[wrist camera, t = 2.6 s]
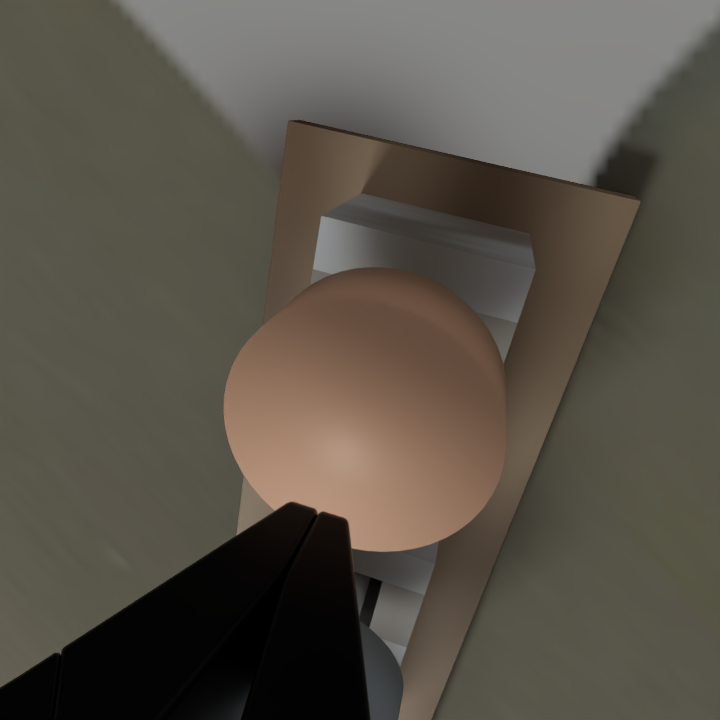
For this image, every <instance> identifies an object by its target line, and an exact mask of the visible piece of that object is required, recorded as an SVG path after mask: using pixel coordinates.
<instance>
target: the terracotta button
mask: <svg viewBox="0 0 720 720" xmlns="http://www.w3.org/2000/svg"><path fill="white" fill-rule="evenodd" d="M224 420H225V429H226V433H227V437H228V441H229V444H230V447H231V449H232V452H233V455H234V457H235V460H236V461H237V463H238V465H239V467H240V469H241V471H242V473H243V474H244V476H245V477H246V479H247V480H248V482H249V483H250V485H251V486H252V487H253V488H254V490H255V491H256V492H257V493H258V494H259V495H260V497H261V498H262V499H263V500H264V501H265V502H266V503H267V504H268V505H269V506H270V507H271V508H272V509H274V510H277V509H278V508H280V507H281V506H283V505H284V504H286V503H288V502H297V503H300V504H303V505H306V506H309V507H312V508H315V509H316V510H317V512H318V514H319V513H320V512H322V511H325V512H328V513H331V514H334V515H338V516H341V517H344V518H346V519H347V520H348V523H349V529H350V538H351V547H352V548H353V549H359V550H365V551H378V552H389V551H403V550H409V549H415V548H419V547H423V546H426V545H430V544H433V543H435V542H437V541H440V540H442V539H444V538H447V537H448V536H450V535H452V534H453V533H455V532H457V531H458V530H460V529H461V528H463V527H464V526H465V525H466V524H468V523H469V522H470V521H471V520H473V519H474V517H475V516H476V515H477V514H478V513H479V512H480V511H481V510H482V509H483V508H484V506H485V505H486V503H487V502H488V500H489V499H490V498H491V496H492V495H493V492H494V490H495V488H496V486H497V484H498V482H499V480H500V476H501V473H502V469H503V466H504V459H505V451H506V376H505V370H504V365H503V361H502V358H501V355H500V352H499V349H498V346H497V344H496V342H495V340H494V338H493V336H492V334H491V332H490V331H489V329H488V328H487V326H486V325H485V324H484V322H483V321H482V319H481V318H480V317H479V316H478V315H477V313H476V312H475V311H474V310H473V309H472V308H471V307H470V306H469V305H468V304H467V303H466V302H465V301H463V300H462V299H461V298H460V297H459V296H457V295H456V294H455V293H453V292H452V291H450V290H449V289H447V288H446V287H444V286H442V285H441V284H439V283H437V282H435V281H433V280H430V279H428V278H426V277H424V276H421V275H418V274H415V273H412V272H409V271H404V270H399V269H394V268H383V267H366V268H355V269H350V270H346V271H341V272H338V273H335V274H332V275H330V276H327V277H325V278H323V279H321V280H319V281H317V282H315V283H313V284H312V285H310V286H309V287H307V288H306V289H305V290H303V291H302V292H301V293H299V294H298V295H297V296H296V297H295V298H294V299H293V300H291V301H290V302H289V303H288V304H287V305H286V306H285V307H284V308H282V309H281V310H280V311H279V312H278V313H277V314H276V315H274V316H273V317H272V318H271V319H270V320H269V321H268V322H267V323H265V324H264V325H263V326H262V327H261V328H260V329H259V330H258V331H257V332H256V333H255V334H254V335H253V336H252V337H251V338H250V339H249V340H248V341H247V343H246V344H245V345H244V347H243V348H242V349H241V351H240V352H239V354H238V356H237V358H236V360H235V362H234V363H233V365H232V368H231V371H230V374H229V377H228V380H227V383H226V389H225V395H224Z"/></svg>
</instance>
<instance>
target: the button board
mask: <svg viewBox="0 0 720 720" xmlns="http://www.w3.org/2000/svg"><path fill="white" fill-rule="evenodd" d="M640 203H641V201H640V200H639V199H637V198H636V197H634V196H631V195H627V194H622V193H618V192H614V191H609V190H605V189H600V188H596V187H592V186H587V185H583V184H578V183H574V182H570V181H565V180H561V179H556V178H552V177H548V176H543V175H539V174H534V173H530V172H526V171H521V170H517V169H512V168H508V167H504V166H499V165H495V164H490V163H486V162H482V161H477V160H473V159H469V158H464V157H460V156H455V155H451V154H447V153H442V152H438V151H433V150H429V149H425V148H420V147H416V146H412V145H407V144H402V143H398V142H394V141H390V140H385V139H381V138H376V137H372V136H368V135H363V134H358V133H354V132H350V131H346V130H341V129H336V128H333V127H328V126H323V125H319V124H315V123H311V122H306V121H302V120H292V121H291V120H290V121H288V126H287V135H286V143H285V151H284V159H283V167H282V175H281V183H280V191H279V199H278V207H277V215H276V223H275V231H274V239H273V247H272V255H271V263H270V271H269V279H268V287H267V295H266V303H265V311H264V319H263V325H264V324H265V323H267V322H268V321H269V320H270V319H271V318H272V317H273V316H274V315H276V314H277V313H278V312H279V311H280V310H281V309H282V308H284V307H285V306H286V305H287V304H288V303H289V302H290V301H291V300H293V299H294V298H295V297H296V296H297V295H298V294H299V293H301V292H302V291H303V290H305V289H306V288H307V287H309V286H310V285H312V284H313V283H315V282H317V281H319V280H321V279H323V278H325V277H327V276H330V275H332V274H335V273H338V272H341V271H346V270H350V269H355V268H366V267H383V268H394V269H399V270H404V271H409V272H412V273H415V274H418V275H421V276H424V277H426V278H428V279H430V280H433V281H435V282H437V283H439V284H441V285H442V286H444V287H446V288H447V289H449V290H450V291H452V292H453V293H455V294H456V295H457V296H459V297H460V298H461V299H462V300H463V301H465V302H466V303H467V304H468V305H469V306H470V307H471V308H472V309H473V310H474V311H475V312H476V313H477V315H478V316H479V317H480V318H481V319H482V321H483V322H484V324H485V325H486V326H487V328H488V329H489V331H490V332H491V334H492V336H493V338H494V340H495V342H496V344H497V346H498V349H499V352H500V355H501V358H502V361H503V365H504V370H505V376H506V451H505V459H504V466H503V469H502V473H501V476H500V480H499V482H498V484H497V486H496V488H495V490H494V492H493V495H492V496H491V498H490V499H489V500H488V502H487V503H486V505H485V506H484V508H483V509H482V510H481V511H480V512H479V513H478V514H477V515H476V516H475V517H474V519H473V520H471V521H470V522H469V523H468V524H466V525H465V526H464V527H463V528H461V529H460V530H458V531H457V532H455V533H453V534H452V535H450V536H448V537H447V538H444V539H442V540H440V541H437V542H435V543H433V544H430V545H426V546H423V547H419V548H415V549H409V550H403V551H389V552H378V551H365V550H359V549H353V548H352V556H353V565H354V572H357V573H360V574H363V575H366V576H369V577H371V578H370V582H369V585H368V588H367V592H366V595H365V599H364V602H363V605H362V609H361V612H360V616H359V619H360V622H362V623H363V624H365V625H366V626H367V627H369V628H370V629H371V630H372V631H374V632H375V633H376V634H377V635H378V636H379V637H380V638H381V639H382V640H383V641H384V643H385V644H386V645H387V646H388V647H389V649H390V650H391V652H392V653H393V655H394V656H395V658H396V660H397V662H398V664H399V666H400V669H401V672H402V676H403V683H404V685H403V696H402V702H401V707H400V713H399V718H398V720H431V719H432V717H433V714H434V712H435V709H436V707H437V704H438V702H439V699H440V697H441V694H442V692H443V689H444V687H445V685H446V682H447V680H448V677H449V675H450V672H451V670H452V667H453V665H454V662H455V660H456V657H457V655H458V652H459V650H460V647H461V645H462V642H463V640H464V638H465V635H466V633H467V630H468V628H469V625H470V623H471V620H472V618H473V615H474V613H475V610H476V608H477V605H478V603H479V600H480V598H481V596H482V593H483V591H484V588H485V586H486V583H487V581H488V578H489V576H490V573H491V571H492V568H493V566H494V563H495V561H496V558H497V556H498V554H499V551H500V549H501V546H502V544H503V541H504V539H505V536H506V534H507V531H508V529H509V526H510V524H511V521H512V519H513V516H514V514H515V512H516V509H517V507H518V504H519V502H520V499H521V497H522V494H523V492H524V489H525V487H526V484H527V482H528V479H529V477H530V474H531V472H532V470H533V467H534V465H535V462H536V460H537V457H538V455H539V452H540V450H541V447H542V445H543V442H544V440H545V437H546V435H547V432H548V430H549V428H550V425H551V423H552V420H553V418H554V415H555V413H556V410H557V408H558V405H559V403H560V400H561V398H562V395H563V393H564V390H565V388H566V385H567V383H568V381H569V378H570V376H571V373H572V371H573V368H574V366H575V363H576V361H577V358H578V356H579V353H580V351H581V348H582V346H583V343H584V341H585V339H586V336H587V334H588V331H589V329H590V326H591V324H592V321H593V319H594V316H595V314H596V311H597V309H598V306H599V304H600V301H601V299H602V297H603V294H604V292H605V289H606V287H607V284H608V282H609V279H610V277H611V274H612V272H613V269H614V267H615V264H616V262H617V259H618V257H619V255H620V252H621V250H622V247H623V245H624V242H625V240H626V237H627V235H628V232H629V230H630V227H631V225H632V222H633V220H634V217H635V215H636V213H637V210H638V208H639V205H640ZM274 511H275V510H274V509H272V508H271V507H270V506H269V505H268V504H267V503H266V502H265V501H264V500H263V499H262V498H261V497H260V495H259V494H258V493H257V492H256V491H255V490H254V488H253V487H252V486H251V485H250V483H249V482H248V480H247V479H246V477H245V476H244V479H243V487H242V495H241V503H240V511H239V519H238V527H237V535H238V534H240V533H241V532H243V531H244V530H246V529H247V528H249V527H250V526H252V525H254V524H255V523H257V522H258V521H260V520H261V519H263V518H264V517H266V516H267V515H269V514H271V513H272V512H274ZM237 535H236V536H237Z"/></svg>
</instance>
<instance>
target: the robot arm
mask: <svg viewBox="0 0 720 720" xmlns="http://www.w3.org/2000/svg"><path fill="white" fill-rule="evenodd" d="M0 720H371V718H370V709H369V700H368V691H367V682H366V673H365V664H364V655H363V646H362V637H361V628H360V619H359V610H358V601H357V592H356V583H355V574H354V565H353V556H352V547H351V538H350V529H349V523H348V520H347V519H346V518H344V517H341V516H338V515H334V514H331V513H328V512H325V511H322V512H320V513H319V514H318V512H317V510H316V509H315V508H312V507H309V506H306V505H303V504H300V503H297V502H288V503H286V504H284V505H283V506H281V507H280V508H278V509H277V510H275V511H274V512H272V513H271V514H269V515H267V516H266V517H264V518H263V519H261V520H260V521H258V522H257V523H255V524H254V525H252V526H250V527H249V528H247V529H246V530H244V531H243V532H241V533H240V534H238V535H237V536H235V537H234V538H232V539H230V540H229V541H227V542H226V543H224V544H223V545H221V546H220V547H218V548H217V549H215V550H213V551H212V552H210V553H209V554H207V555H206V556H204V557H203V558H201V559H200V560H198V561H196V562H195V563H193V564H192V565H190V566H189V567H187V568H186V569H184V570H183V571H181V572H180V573H178V574H176V575H175V576H173V577H172V578H170V579H169V580H167V581H166V582H164V583H163V584H161V585H159V586H158V587H156V588H155V589H153V590H152V591H150V592H149V593H147V594H146V595H144V596H142V597H141V598H139V599H138V600H136V601H135V602H133V603H132V604H130V605H129V606H127V607H125V608H124V609H122V610H121V611H119V612H118V613H116V614H115V615H113V616H112V617H110V618H109V619H107V620H105V621H104V622H102V623H101V624H99V625H98V626H96V627H95V628H93V629H92V630H90V631H88V632H87V633H85V634H84V635H82V636H81V637H79V638H78V639H76V640H75V641H73V642H71V643H70V644H68V645H67V646H65V647H64V648H63V649H62V652H61V655H60V654H59V653H54V654H52V655H51V656H49V657H48V658H46V659H45V660H43V661H42V662H40V663H39V664H37V665H35V666H34V667H32V668H31V669H29V670H28V671H26V672H25V673H23V674H22V675H20V676H18V677H17V678H15V679H13V680H12V681H10V682H9V683H7V684H5V685H4V686H2V687H1V688H0Z"/></svg>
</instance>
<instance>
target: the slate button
mask: <svg viewBox="0 0 720 720" xmlns="http://www.w3.org/2000/svg"><path fill="white" fill-rule="evenodd" d="M354 574H355V583H356V592H357V601H358V610H359V616H360V612H361V609H362V605H363V602H364V599H365V595H366V592H367V588H368V585H369V582H370V578H371V577H369V576H366V575H363V574H360V573H357V572H354ZM360 628H361V637H362V646H363V655H364V664H365V673H366V682H367V691H368V700H369V709H370V718H371V720H398V718H399V713H400V707H401V702H402V696H403V685H404V683H403V676H402V672H401V669H400V666H399V664H398V662H397V660H396V658H395V656H394V655H393V653H392V652H391V650H390V649H389V647H388V646H387V645H386V644H385V643H384V641H383V640H382V639H381V638H380V637H379V636H378V635H377V634H376V633H375V632H374V631H372V630H371V629H370V628H369V627H367V626H366V625H365V624H363V623H362V622H360Z"/></svg>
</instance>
